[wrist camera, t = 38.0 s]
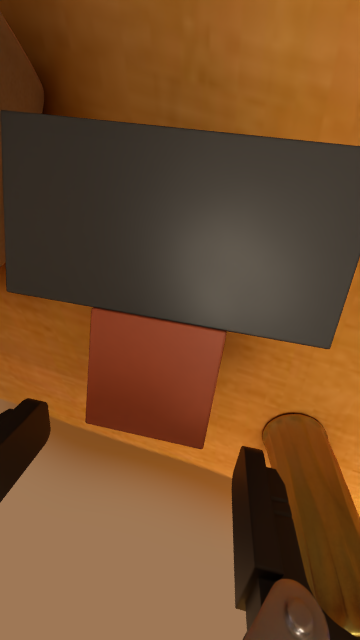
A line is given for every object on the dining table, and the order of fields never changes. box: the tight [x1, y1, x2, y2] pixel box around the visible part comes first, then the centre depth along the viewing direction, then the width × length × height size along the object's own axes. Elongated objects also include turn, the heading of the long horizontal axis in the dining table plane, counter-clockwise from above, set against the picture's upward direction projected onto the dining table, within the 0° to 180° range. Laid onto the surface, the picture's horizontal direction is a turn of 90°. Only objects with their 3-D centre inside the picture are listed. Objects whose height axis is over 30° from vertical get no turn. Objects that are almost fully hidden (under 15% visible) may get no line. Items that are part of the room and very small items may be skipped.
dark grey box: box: [0, 110, 360, 449], centre depth 15 cm, size 12×12×11 cm
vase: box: [262, 414, 360, 640], centre depth 19 cm, size 6×6×14 cm
